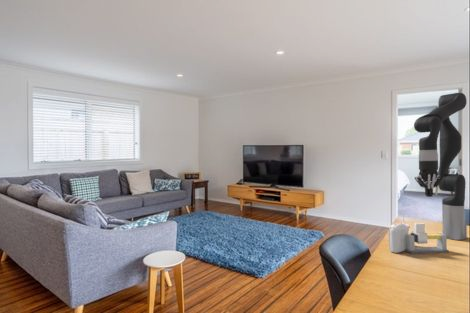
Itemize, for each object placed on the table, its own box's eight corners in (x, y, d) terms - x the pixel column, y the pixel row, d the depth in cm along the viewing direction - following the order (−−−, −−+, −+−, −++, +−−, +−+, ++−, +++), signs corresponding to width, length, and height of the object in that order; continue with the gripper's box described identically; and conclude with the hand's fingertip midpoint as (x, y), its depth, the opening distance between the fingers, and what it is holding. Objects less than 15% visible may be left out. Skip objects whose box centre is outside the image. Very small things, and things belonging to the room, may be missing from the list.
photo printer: (399, 247, 135) (398, 221, 136) (409, 249, 132) (408, 222, 132) (388, 251, 130) (386, 224, 130) (397, 254, 126) (396, 225, 126)
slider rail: (439, 248, 132) (439, 231, 132) (448, 252, 127) (448, 234, 127) (404, 250, 131) (404, 232, 131) (411, 253, 126) (411, 235, 126)
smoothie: (404, 247, 135) (404, 218, 135) (391, 244, 140) (391, 215, 140) (412, 245, 138) (412, 216, 138) (400, 241, 143) (399, 214, 143)
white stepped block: (420, 240, 132) (420, 222, 131) (427, 243, 127) (427, 224, 127) (412, 240, 131) (411, 222, 131) (418, 243, 127) (418, 224, 127)
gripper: (435, 159, 138) (436, 194, 139) (409, 160, 137) (410, 195, 138) (448, 159, 131) (448, 197, 131) (420, 160, 130) (421, 198, 130)
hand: (429, 196), depth 134 cm, fingers closed
